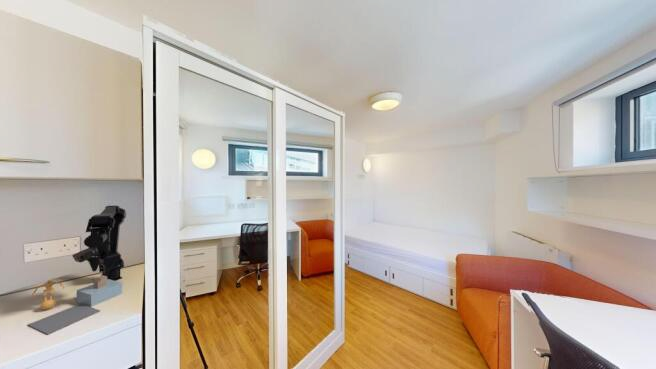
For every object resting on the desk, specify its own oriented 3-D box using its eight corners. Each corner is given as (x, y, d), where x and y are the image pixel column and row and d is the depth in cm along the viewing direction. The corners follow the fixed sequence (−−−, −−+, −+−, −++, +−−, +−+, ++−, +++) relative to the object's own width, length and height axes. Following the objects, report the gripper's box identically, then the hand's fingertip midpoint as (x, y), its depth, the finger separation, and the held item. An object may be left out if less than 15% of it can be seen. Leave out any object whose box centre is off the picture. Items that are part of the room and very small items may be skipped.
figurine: (30, 315, 82) (30, 287, 82) (32, 309, 86) (33, 282, 86) (63, 306, 89) (63, 280, 88) (64, 300, 92) (64, 275, 92)
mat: (80, 304, 91) (80, 303, 91) (100, 311, 87) (100, 310, 87) (27, 325, 77) (27, 324, 77) (47, 334, 73) (47, 333, 73)
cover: (108, 289, 103) (108, 270, 103) (122, 293, 100) (122, 274, 100) (76, 301, 92) (76, 280, 92) (91, 306, 89) (91, 285, 89)
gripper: (63, 243, 90) (63, 276, 91) (88, 249, 85) (88, 284, 85) (97, 237, 101) (97, 267, 101) (122, 241, 96) (121, 273, 96)
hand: (100, 272), depth 96 cm, fingers open, 9 cm apart
